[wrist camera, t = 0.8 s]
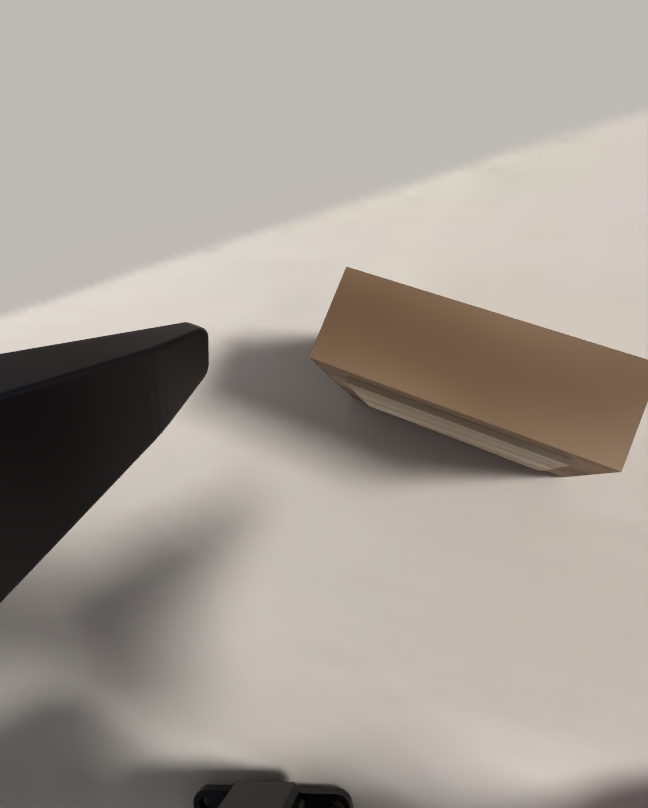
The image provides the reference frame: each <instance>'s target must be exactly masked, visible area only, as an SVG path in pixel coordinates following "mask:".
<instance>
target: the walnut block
mask: <svg viewBox="0 0 648 808" xmlns="http://www.w3.org/2000/svg"><path fill="white" fill-rule="evenodd" d="M309 357H310V358H311V359H312V360H313V361H314V362H315V363H316V364H317V365H318V366H319V367H321V368H322V369H323V370H324V371H325V372H326V373H327V374H328V375H329V376H330V377H331V378H333V379H334V380H335V381H336V382H337V383H338V384H339V385H340V386H341V387H342V388H343V389H345V390H346V391H347V392H348V393H349V394H350V395H351V396H352V397H354V398H356V399H359V400H361V401H364V402H365V403H366V404H367V405H368V406H370V407H373V408H375V409H378V410H381V411H383V412H386V413H389V414H391V415H394V416H396V417H399V418H402V419H404V420H407V421H410V422H412V423H415V424H417V425H420V426H423V427H425V428H428V429H430V430H433V431H436V432H438V433H441V434H444V435H446V436H449V437H451V438H454V439H457V440H459V441H462V442H465V443H467V444H470V445H472V446H475V447H478V448H480V449H483V450H485V451H488V452H491V453H493V454H496V455H499V456H501V457H504V458H506V459H509V460H512V461H514V462H517V463H519V464H522V465H525V466H527V467H530V468H533V469H535V470H538V471H544V470H545V471H548V472H551V473H553V474H556V475H559V476H561V477H570V476H581V475H592V474H602V473H613V472H622V469H623V466H624V464H625V461H626V458H627V455H628V453H629V450H630V447H631V445H632V442H633V439H634V437H635V434H636V431H637V429H638V426H639V423H640V421H641V418H642V415H643V412H644V410H645V407H646V404H647V402H648V360H647V359H644V358H640V357H637V356H634V355H631V354H627V353H624V352H621V351H618V350H614V349H611V348H608V347H605V346H601V345H598V344H595V343H592V342H588V341H585V340H582V339H579V338H576V337H572V336H569V335H566V334H563V333H559V332H556V331H553V330H550V329H546V328H543V327H540V326H537V325H533V324H530V323H527V322H524V321H521V320H517V319H514V318H511V317H508V316H504V315H501V314H498V313H495V312H491V311H488V310H485V309H482V308H478V307H475V306H472V305H469V304H466V303H462V302H459V301H456V300H453V299H449V298H446V297H443V296H440V295H436V294H433V293H430V292H427V291H423V290H420V289H417V288H414V287H411V286H407V285H404V284H401V283H398V282H394V281H391V280H388V279H385V278H381V277H378V276H375V275H372V274H368V273H365V272H362V271H359V270H356V269H352V268H349V267H346V269H345V271H344V274H343V276H342V279H341V281H340V284H339V286H338V288H337V291H336V293H335V296H334V298H333V301H332V303H331V305H330V308H329V310H328V313H327V315H326V318H325V320H324V322H323V325H322V327H321V330H320V332H319V335H318V337H317V339H316V342H315V344H314V347H313V349H312V352H311V354H310V356H309Z"/></svg>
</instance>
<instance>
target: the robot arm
mask: <svg viewBox="0 0 648 808" xmlns="http://www.w3.org/2000/svg"><path fill="white" fill-rule="evenodd" d="M208 365H209V352H208V333H207V331H206V330H205V329H204V328H202V327H199V326H197V325H194V324H191V323H187V322H184V323H178V324H173V325H167V326H161V327H155V328H149V329H143V330H138V331H132V332H126V333H120V334H114V335H108V336H102V337H97V338H91V339H85V340H79V341H73V342H67V343H62V344H56V345H50V346H44V347H38V348H32V349H27V350H21V351H15V352H9V353H3V354H0V603H1V602H2V601H3V600H4V599H5V597H6V596H7V595H8V594H9V593H10V592H11V591H12V590H13V589H14V588H15V587H16V586H17V585H18V584H19V583H20V582H21V581H22V580H23V579H24V577H25V576H26V575H27V574H28V573H29V572H30V571H31V570H32V569H33V568H34V567H35V566H36V565H37V564H38V563H39V562H40V561H41V560H42V559H43V557H44V556H45V555H46V554H47V553H48V552H49V551H50V550H51V549H52V548H53V547H54V546H55V545H56V544H57V543H58V542H59V541H60V540H61V539H62V538H63V536H64V535H65V534H66V533H67V532H68V531H69V530H70V529H71V528H72V527H73V526H74V525H75V524H76V523H77V522H78V521H79V520H80V519H81V518H82V516H83V515H84V514H85V513H86V512H87V511H88V510H89V509H90V508H91V507H92V506H93V505H94V504H95V503H96V502H97V501H98V500H99V499H100V498H101V496H102V495H103V494H104V493H105V492H106V491H107V490H108V489H109V488H110V487H111V486H112V485H113V484H114V483H115V482H116V481H117V480H118V479H119V478H120V477H121V475H122V474H123V473H124V472H125V471H126V470H127V469H128V468H129V467H130V466H131V465H132V464H133V463H134V462H135V461H136V460H137V459H138V458H139V457H140V455H141V454H142V453H143V452H144V451H145V450H146V449H147V448H148V447H149V446H150V445H151V444H152V443H153V442H154V441H155V440H156V439H157V437H158V436H159V435H160V434H161V433H162V432H163V431H164V429H165V428H166V427H167V426H168V424H169V423H170V422H171V421H172V419H173V418H174V417H175V415H176V414H177V413H178V411H179V410H180V409H181V407H182V406H183V405H184V403H185V402H186V401H187V400H188V398H189V397H190V396H191V394H192V393H193V392H194V390H195V389H196V388H197V386H198V385H199V384H200V382H201V381H202V380H203V378H204V377H205V375H206V373H207V370H208ZM204 797H207V798H208V799H209V800H210V802H211V805H208V804H206V803H205V802H204ZM336 801H338V802H341V803H342V804H343V806H344V808H353V803H352V799H351V797H350V795H349V794H348V793H347V792H346V791H345V790H343V789H339V788H305V787H299V786H298V785H297V784H295V783H294V782H266V781H237V782H236V783H235V785H205V786H203V787H202V788H201V789H200V790H199V791H198V792H197V794H196V796H195V798H194V808H336V807H335V806H334V802H336Z"/></svg>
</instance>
